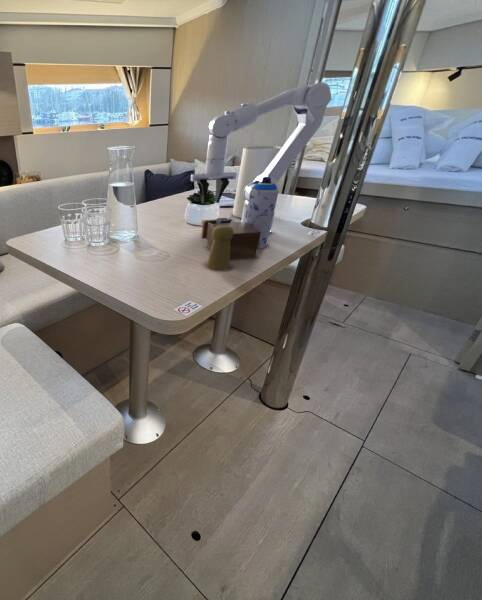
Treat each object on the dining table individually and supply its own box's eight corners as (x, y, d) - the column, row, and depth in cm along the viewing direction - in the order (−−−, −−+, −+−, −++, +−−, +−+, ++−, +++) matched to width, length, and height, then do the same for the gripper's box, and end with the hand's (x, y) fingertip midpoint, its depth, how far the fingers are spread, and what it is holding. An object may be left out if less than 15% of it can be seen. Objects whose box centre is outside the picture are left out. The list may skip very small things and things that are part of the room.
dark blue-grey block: (216, 218, 99) (221, 221, 96) (225, 217, 99) (230, 220, 96) (213, 236, 102) (218, 240, 99) (223, 236, 102) (227, 239, 99)
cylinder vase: (264, 212, 131) (279, 145, 119) (267, 220, 121) (283, 148, 109) (232, 211, 135) (243, 146, 123) (232, 218, 125) (243, 149, 113)
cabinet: (206, 247, 99) (209, 223, 96) (238, 245, 100) (242, 221, 96) (220, 260, 90) (224, 234, 86) (255, 257, 91) (261, 231, 87)
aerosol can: (243, 238, 105) (255, 174, 95) (269, 242, 101) (284, 175, 91) (237, 245, 100) (249, 178, 90) (264, 249, 95) (280, 180, 86)
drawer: (195, 233, 109) (197, 216, 107) (221, 231, 110) (223, 214, 107) (212, 247, 97) (214, 229, 94) (240, 245, 97) (244, 226, 94)
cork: (226, 272, 83) (233, 231, 78) (203, 268, 86) (208, 228, 81) (231, 263, 88) (238, 224, 82) (209, 260, 91) (214, 222, 85)
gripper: (198, 161, 97) (193, 206, 104) (244, 159, 97) (236, 203, 104) (190, 159, 103) (186, 201, 110) (233, 157, 104) (227, 199, 110)
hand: (210, 202), depth 107 cm, fingers open, 4 cm apart
